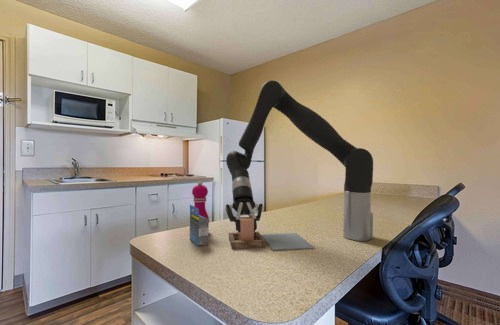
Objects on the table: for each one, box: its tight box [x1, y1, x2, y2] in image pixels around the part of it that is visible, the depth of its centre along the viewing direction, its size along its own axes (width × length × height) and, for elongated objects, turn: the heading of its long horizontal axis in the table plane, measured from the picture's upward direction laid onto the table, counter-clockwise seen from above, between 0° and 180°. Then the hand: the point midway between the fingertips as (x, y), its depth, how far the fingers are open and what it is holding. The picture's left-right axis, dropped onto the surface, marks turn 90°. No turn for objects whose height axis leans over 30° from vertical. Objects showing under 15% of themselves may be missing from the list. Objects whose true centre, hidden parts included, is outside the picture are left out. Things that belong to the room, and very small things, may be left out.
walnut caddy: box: [228, 231, 266, 250], centre depth 84 cm, size 11×11×2 cm
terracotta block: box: [238, 216, 255, 241], centre depth 84 cm, size 4×4×8 cm
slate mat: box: [260, 232, 315, 252], centre depth 86 cm, size 14×16×1 cm
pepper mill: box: [191, 180, 210, 221], centre depth 95 cm, size 7×7×20 cm
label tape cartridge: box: [189, 204, 210, 247], centre depth 84 cm, size 9×4×12 cm, turn 32°
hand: (246, 230), depth 83 cm, fingers closed on terracotta block, 4 cm apart
